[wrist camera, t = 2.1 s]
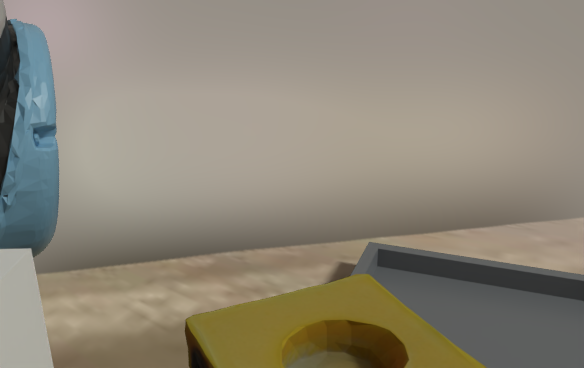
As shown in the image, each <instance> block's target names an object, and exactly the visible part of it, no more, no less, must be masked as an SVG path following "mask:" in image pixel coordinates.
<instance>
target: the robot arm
mask: <svg viewBox="0 0 584 368" xmlns="http://www.w3.org/2000/svg"><path fill="white" fill-rule="evenodd" d="M16 20H17V19H11V20H8V21H7V17H6V11H5V6H4V3H3V0H0V368H54V367H53V362H52V357H51V351H50V346H49V341H48V335H47V330H46V325H45V319H44V314H43V309H42V304H41V298H40V293H39V288H38V282H37V277H36V272H35V266H34V261H33V257H35V256H37V255H38V254H40V253H41V252H42V251H43V250H44V249H45V248H46V247H47V246H48V244H49V243H50V241H51V240H52V237H53V235H54V232H55V228H56V224H57V217H58V203H59V158H58V146H57V141H56V138H55V134H56V101H55V90H54V81H53V73H52V66H51V59H50V53H49V49H48V45H47V41H46V38H45V35H44V33H43V32H42V31H41V29H40V28H38V27H37V26H35V25H32V24H27V23H23V22H21V21H16Z"/></svg>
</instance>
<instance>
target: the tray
mask: <svg viewBox="0 0 584 368" xmlns="http://www.w3.org/2000/svg"><path fill="white" fill-rule="evenodd" d="M355 274H369V275H370V276H372V277H373V278H374V279H375V280H376V281H377V282H379V283H380V284H381V285H382V286H383V287H384V288H386V289H387V290H388V291H389V292H390V293H391V294H392V295H394V296H395V297H396V298H397V299H398V300H399V301H400V302H402V303H403V304H404V305H405V306H407V307H408V308H409V309H410V310H412V311H413V312H414V313H416V314H417V315H418V316H419V317H421V318H422V319H423V320H425V321H426V322H427V323H428V324H430V325H431V326H432V327H434V328H435V329H436V330H437V331H438V332H440V333H441V334H442V335H443V336H445V337H446V338H447V339H448V340H450V341H451V342H452V343H453V344H455V345H456V346H458V347H459V348H460V349H462V350H463V351H464V352H466V353H467V354H469V355H470V356H471V357H473V358H474V359H476V360H477V361H478V362H480V363H481V364H483V365H484V366H485V367H487V368H584V275H581V274H574V273H568V272H561V271H555V270H548V269H542V268H535V267H529V266H522V265H516V264H509V263H503V262H496V261H490V260H483V259H477V258H470V257H464V256H457V255H451V254H444V253H438V252H431V251H425V250H418V249H412V248H405V247H399V246H392V245H386V244H379V243H373V242H369V243H368V245H367V247H366V249H365V251H364V252H363V254H362V256H361V258H360V259H359V261H358V263H357V265H356V266H355V268H354V270H353V272H352V274H351V275H350V276H352V275H355Z"/></svg>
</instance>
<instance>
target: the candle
mask: <svg viewBox="0 0 584 368" xmlns="http://www.w3.org/2000/svg"><path fill="white" fill-rule="evenodd" d="M185 335H186V340H187V345H188V356H189V367H190V368H487V367H485V366H484V365H483V364H481V363H480V362H478V361H477V360H476V359H474V358H473V357H471V356H470V355H469V354H467V353H466V352H464V351H463V350H462V349H460V348H459V347H458V346H456V345H455V344H453V343H452V342H451V341H450V340H448V339H447V338H446V337H445V336H443V335H442V334H441V333H440V332H438V331H437V330H436V329H435V328H434V327H432V326H431V325H430V324H428V323H427V322H426V321H425V320H423V319H422V318H421V317H419V316H418V315H417V314H416V313H414V312H413V311H412V310H410V309H409V308H408V307H407V306H405V305H404V304H403V303H402V302H400V301H399V300H398V299H397V298H396V297H395V296H394V295H392V294H391V293H390V292H389V291H388V290H387V289H386V288H384V287H383V286H382V285H381V284H380V283H379V282H377V281H376V280H375V279H374V278H373V277H372V276H370V275H369V274H355V275H352V276H349V277H346V278H343V279H340V280H337V281H333V282H330V283H327V284H323V285H318V286H313V287H308V288H304V289H301V290H297V291H294V292H290V293H286V294H282V295H278V296H274V297H270V298H266V299H262V300H257V301H252V302H248V303H243V304H238V305H234V306H230V307H227V308H223V309H219V310H215V311H211V312H206V313H201V314H196V315H193V316H191V317H189V318H187V319H186V326H185Z"/></svg>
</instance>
